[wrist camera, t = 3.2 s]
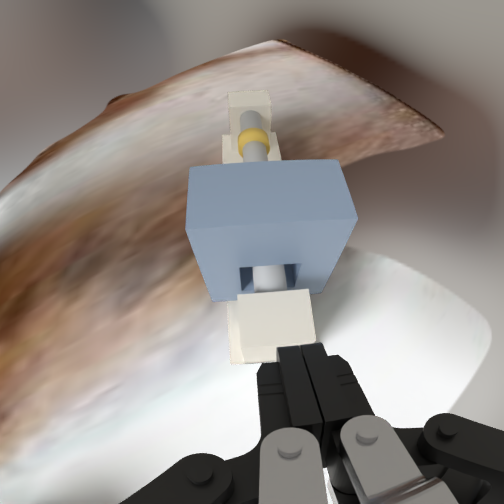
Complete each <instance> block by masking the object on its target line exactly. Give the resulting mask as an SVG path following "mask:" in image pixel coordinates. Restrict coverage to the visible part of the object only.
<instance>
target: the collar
mask: <svg viewBox="0 0 504 504" xmlns="http://www.w3.org/2000/svg"><path fill="white" fill-rule="evenodd" d="M357 220H358V216H357V213H356V210H355V207H354V204H353V201H352V198H351V195H350V192H349V189H348V186H347V184H346V181H345V178H344V175H343V172H342V170H341V167H340V164H339V161H338V160H333V159H332V160H281V161H259V162H243V163H229V164H217V165H206V166H195V167H190V171H189V183H188V197H187V212H186V232H187V235H188V238H189V241H190V243H191V246H192V249H193V252H194V254H195V257H196V260H197V263H198V265H199V268H200V271H201V273H202V276H203V278H204V281H205V284H206V286H207V289H208V291H209V294H210V297H211V299H212V302H219V301H234V300H237V295H238V294H252V293H254V281H253V269H252V267H255V266H268V265H282V264H284V269H285V276H286V284H287V291H289V290H300V289H309V294H317V293H321V292H322V290H323V288H324V286H325V285H326V283H327V281H328V279H329V277H330V275H331V273H332V271H333V269H334V267H335V265H336V263H337V261H338V259H339V257H340V255H341V253H342V251H343V249H344V247H345V245H346V243H347V241H348V239H349V237H350V235H351V233H352V230H353V228H354V226H355V224H356V222H357Z"/></svg>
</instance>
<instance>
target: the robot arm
mask: <svg viewBox="0 0 504 504" xmlns="http://www.w3.org/2000/svg"><path fill="white" fill-rule="evenodd" d="M257 388H258V402H259V415H260V426H261V438H260V441H259V443H258V444H257V445H256V447H255V448H254V449H252V450H251V451H250V452H248V453H246V454H244V455H242V456H239V457H235V458H232V459H229V460H225V461H224V460H223V459H222V458H220V457H218V456H215V455H212V454H207V453H197V454H192V455H189V456H186V457H184V458H182V459H181V460H179V461H178V462H177V463H175V464H174V465H173V466H172V467H170V468H169V469H168V470H166V471H165V472H164V473H162V474H161V475H160V476H158V477H157V478H155V479H154V480H153V481H151V482H150V483H149V484H147V485H146V486H144V487H143V488H141V489H140V490H139V491H137V492H136V493H134V494H133V495H131V496H130V497H128V498H127V499H125V500H124V501H122V502H121V503H119V504H328V501H327V494H326V487H325V480H324V474H323V468H326V467H327V470H328V473H329V480H328V490H329V493H330V496H331V499H332V501H333V504H504V431H502V430H499V429H496V428H493V427H489V426H486V425H483V424H480V423H477V422H474V421H471V420H469V419H466V418H463V417H460V416H457V415H454V414H450V413H442V414H437V415H435V416H433V417H431V418H430V419H429V420H428V421H427V422H426V424H425V426H424V428H394V427H392V426H391V425H390V424H389V423H388V422H387V421H386V420H384V419H383V418H380V417H377V416H375V414H374V413H373V411H372V409H371V407H370V405H369V403H368V401H367V399H366V397H365V395H364V393H363V391H362V389H361V387H360V385H359V383H358V381H357V379H356V377H355V375H354V374H353V371H352V369H351V367H350V365H349V363H348V362H347V361H345V360H344V359H343V358H341V357H340V356H339V355H332V356H327V353H326V351H325V349H324V346H323V344H322V343H321V342H320V343H312V344H303V345H294V346H284V347H277V348H276V362H271V363H262V364H261V366H260V368H259V370H258V372H257Z"/></svg>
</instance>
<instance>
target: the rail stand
mask: <svg viewBox="0 0 504 504" xmlns="http://www.w3.org/2000/svg"><path fill="white" fill-rule="evenodd" d="M271 106H272V105H271V101H270V97H269V93H268V90H257V91H237V92H228V109H229V122H230V134H229V135H222V159H223V164H229V163H243V162H259V161H281V155H280V150H279V145H278V141H277V136H276V132H271ZM252 269H253V281H254V293H252V294H238V295H237V300H234V301H227V313H228V332H229V350H230V364H231V365H238V364H253V363H265V362H276V348H277V347H284V346H294V345H303V344H312V343H314V342H315V341H316V335H315V328H314V321H313V314H312V308H311V301H310V295H309V289H300V290H289V291H287V284H286V276H285V269H284V264H282V265H268V266H255V267H252Z"/></svg>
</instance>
